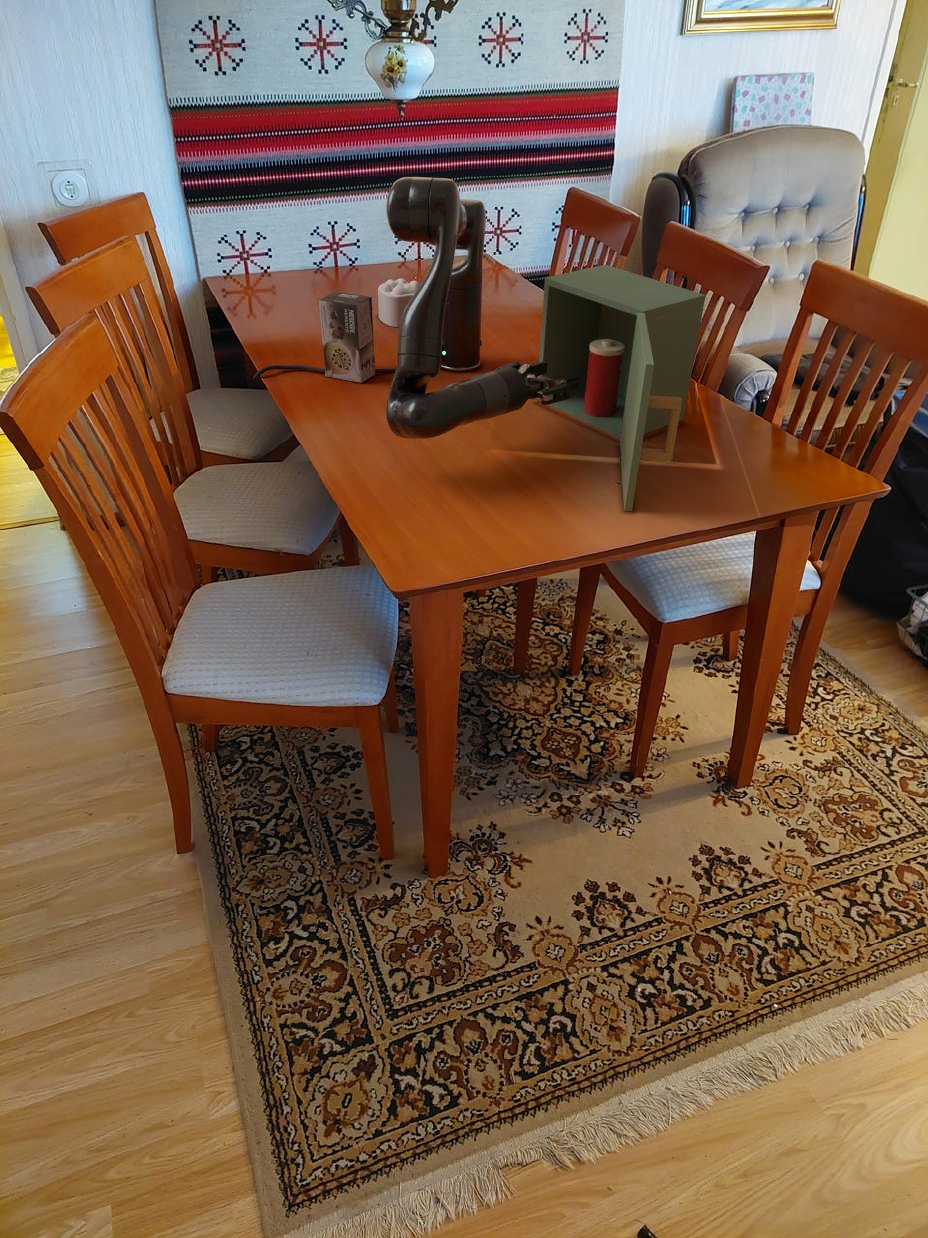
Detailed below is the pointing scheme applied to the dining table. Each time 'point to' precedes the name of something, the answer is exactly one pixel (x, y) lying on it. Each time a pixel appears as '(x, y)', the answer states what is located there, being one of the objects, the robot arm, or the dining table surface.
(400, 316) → the white lumpy-topped cup
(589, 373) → the red canister
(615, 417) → the cupboard
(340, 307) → the coffee box
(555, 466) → the dining table surface
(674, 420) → the cupboard door
